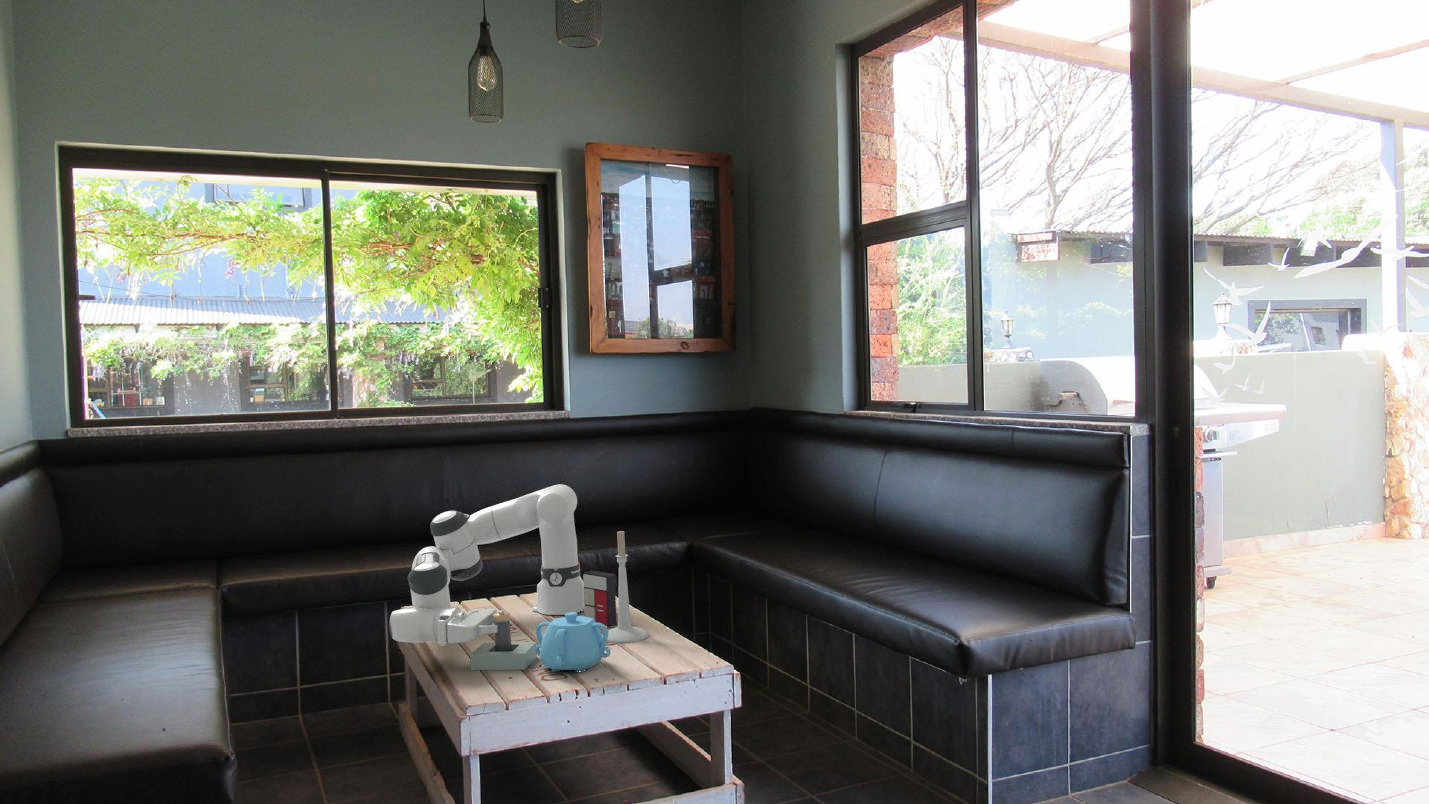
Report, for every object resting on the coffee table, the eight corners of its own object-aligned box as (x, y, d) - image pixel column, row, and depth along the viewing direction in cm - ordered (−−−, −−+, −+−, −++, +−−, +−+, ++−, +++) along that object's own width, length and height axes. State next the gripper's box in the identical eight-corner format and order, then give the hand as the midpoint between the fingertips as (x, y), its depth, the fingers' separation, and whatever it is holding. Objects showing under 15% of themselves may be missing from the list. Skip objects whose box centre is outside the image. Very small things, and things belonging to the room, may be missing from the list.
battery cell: (498, 658, 258) (496, 609, 258) (514, 657, 258) (511, 608, 257) (494, 662, 254) (491, 613, 254) (509, 662, 254) (506, 612, 253)
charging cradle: (484, 657, 262) (484, 642, 262) (537, 657, 261) (536, 641, 261) (470, 670, 251) (470, 654, 251) (525, 669, 250) (524, 653, 250)
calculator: (583, 623, 296) (580, 572, 295) (594, 620, 299) (592, 570, 298) (607, 628, 288) (605, 576, 288) (618, 625, 291) (616, 574, 291)
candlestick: (647, 642, 272) (643, 532, 271) (600, 644, 271) (596, 534, 270) (648, 630, 284) (644, 525, 283) (603, 632, 284) (598, 527, 283)
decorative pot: (594, 654, 262) (592, 602, 262) (614, 669, 247) (612, 614, 247) (533, 664, 255) (531, 611, 255) (550, 680, 240) (548, 624, 240)
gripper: (465, 626, 267) (515, 625, 266) (437, 647, 247) (491, 647, 246) (464, 603, 267) (514, 602, 266) (436, 622, 247) (490, 621, 246)
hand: (503, 624), depth 256 cm, fingers open, 8 cm apart
